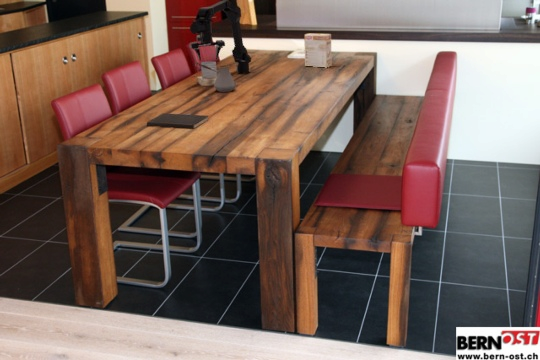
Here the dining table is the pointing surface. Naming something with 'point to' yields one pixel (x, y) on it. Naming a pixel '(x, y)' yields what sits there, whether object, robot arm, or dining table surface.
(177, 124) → the hardcover book
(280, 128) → the dining table surface
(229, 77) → the coffee pot
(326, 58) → the coffeecake box
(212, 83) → the cream shallow bowl
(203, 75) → the medicine box
